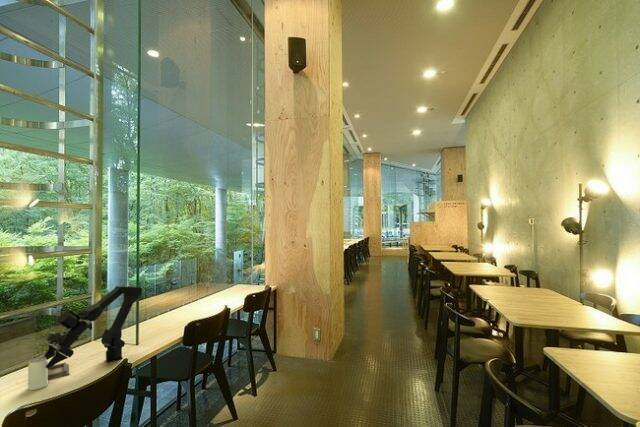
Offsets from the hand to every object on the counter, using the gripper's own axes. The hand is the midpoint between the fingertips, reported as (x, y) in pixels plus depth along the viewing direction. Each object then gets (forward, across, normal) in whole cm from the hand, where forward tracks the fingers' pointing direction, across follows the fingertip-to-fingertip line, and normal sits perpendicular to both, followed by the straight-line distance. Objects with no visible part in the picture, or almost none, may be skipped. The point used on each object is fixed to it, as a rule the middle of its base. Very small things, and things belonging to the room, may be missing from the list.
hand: (43, 365), depth 144 cm
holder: (+3, -11, +10) cm, 15 cm away
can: (+8, 0, +5) cm, 9 cm away
